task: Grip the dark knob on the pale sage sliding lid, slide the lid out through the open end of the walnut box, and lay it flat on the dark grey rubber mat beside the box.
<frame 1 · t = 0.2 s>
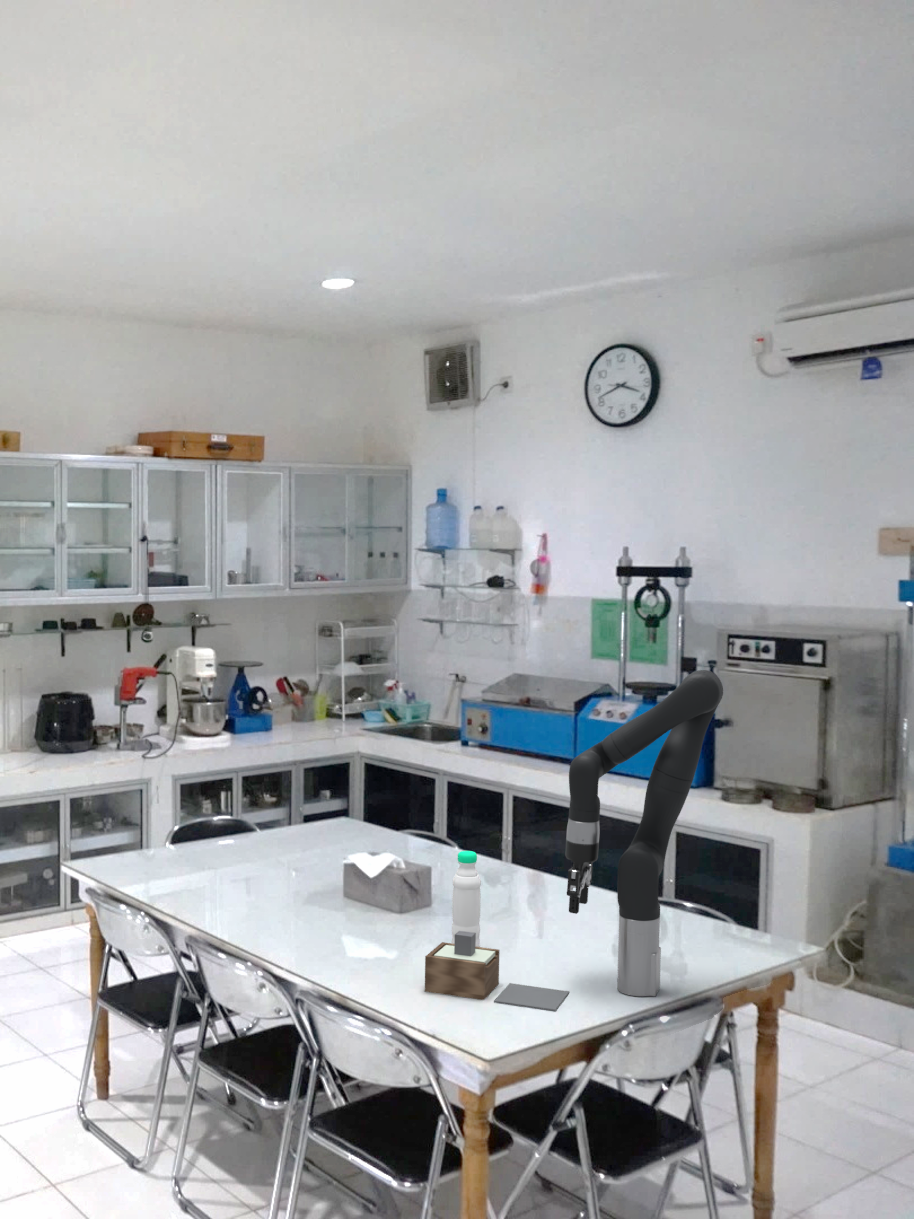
hand: (578, 907, 282), 17 cm above the table, tool pointing down, fingers open, 8 cm apart
water bottle: (465, 952, 303), on the table
lid: (464, 957, 277), point 7 cm above the table, touching box
box: (462, 987, 278), on the table
mat: (531, 997, 272), on the table
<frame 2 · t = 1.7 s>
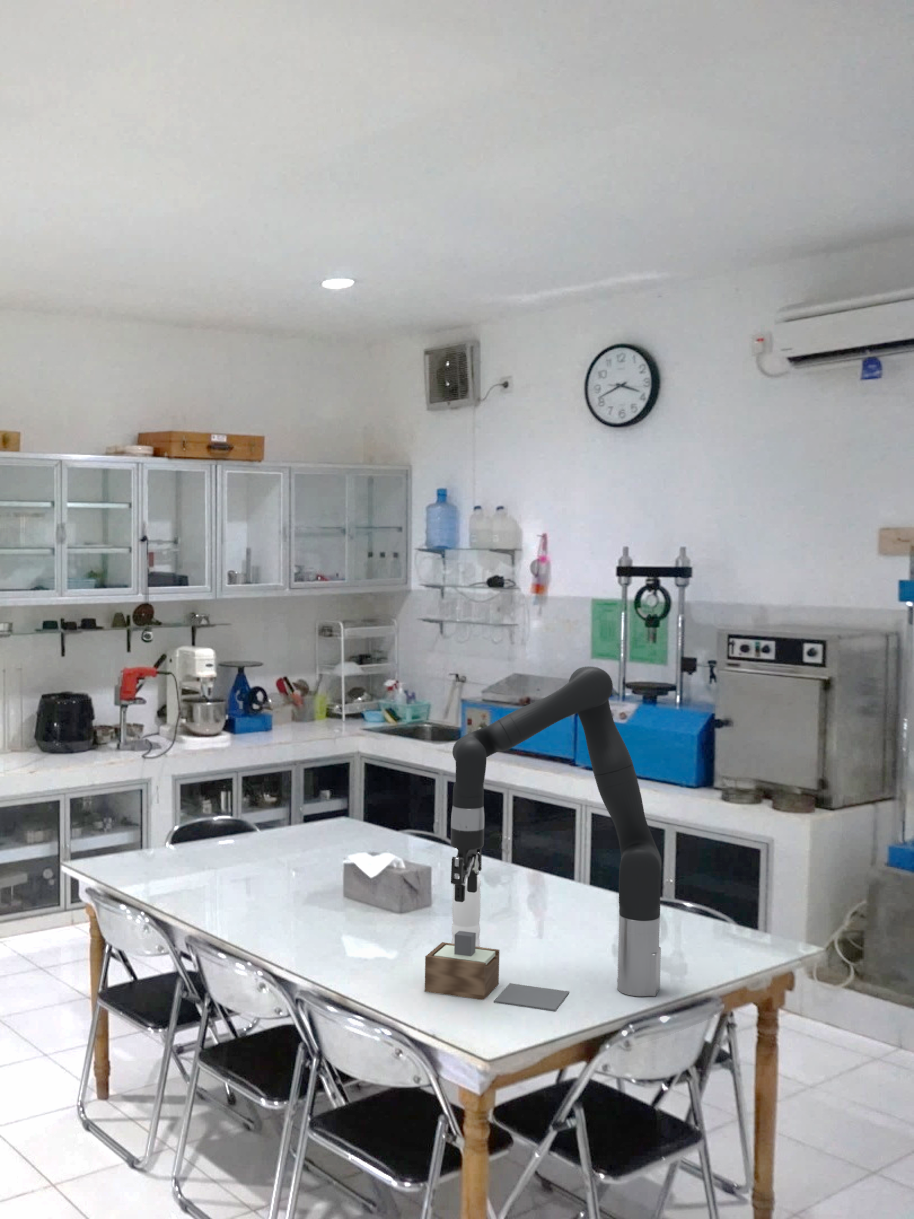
hand: (465, 896, 277), 21 cm above the table, tool pointing down, fingers open, 8 cm apart
nothing on the table moved.
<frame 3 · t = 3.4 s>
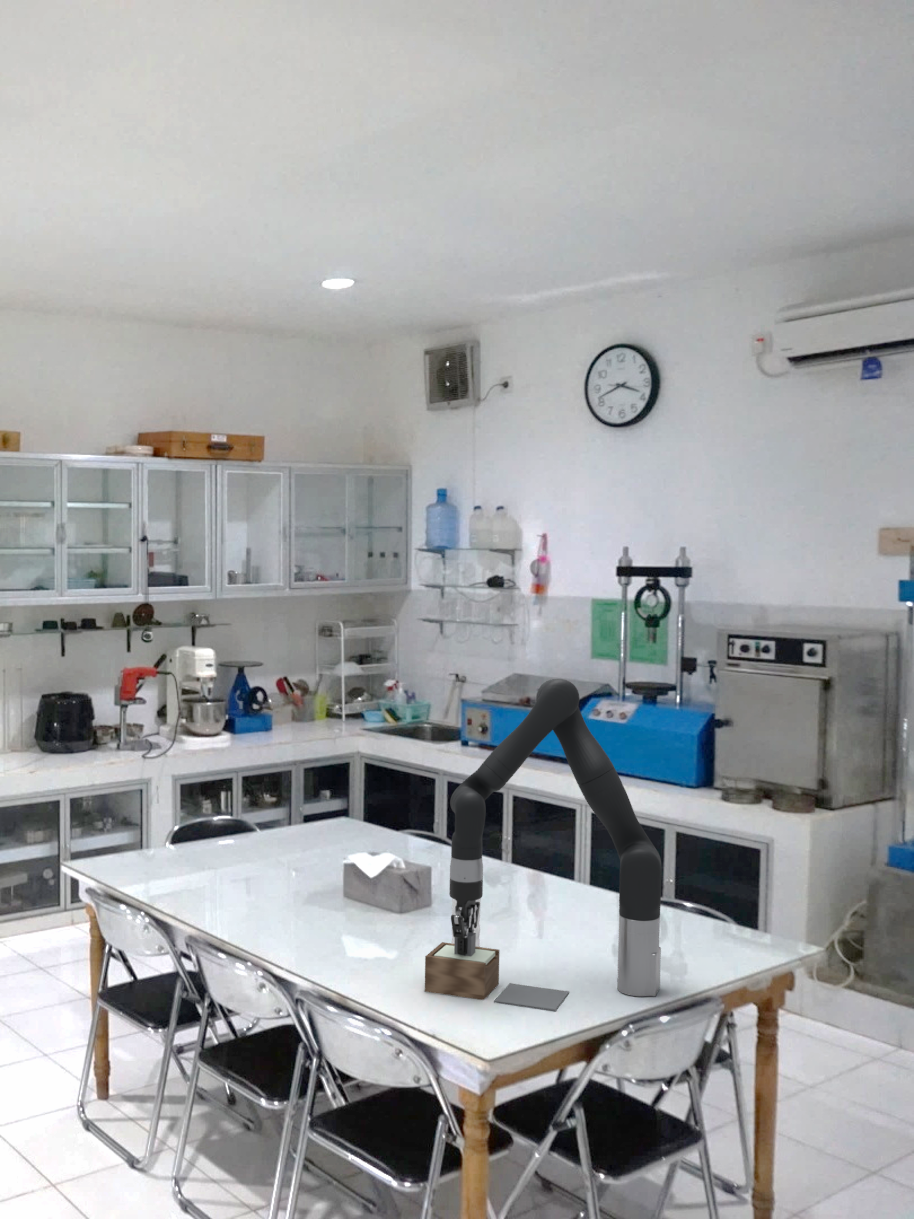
hand: (464, 951, 277), 8 cm above the table, tool pointing down, fingers closed on lid, 3 cm apart
lid: (464, 957, 277), point 7 cm above the table, touching box, gripper
everything else where it was.
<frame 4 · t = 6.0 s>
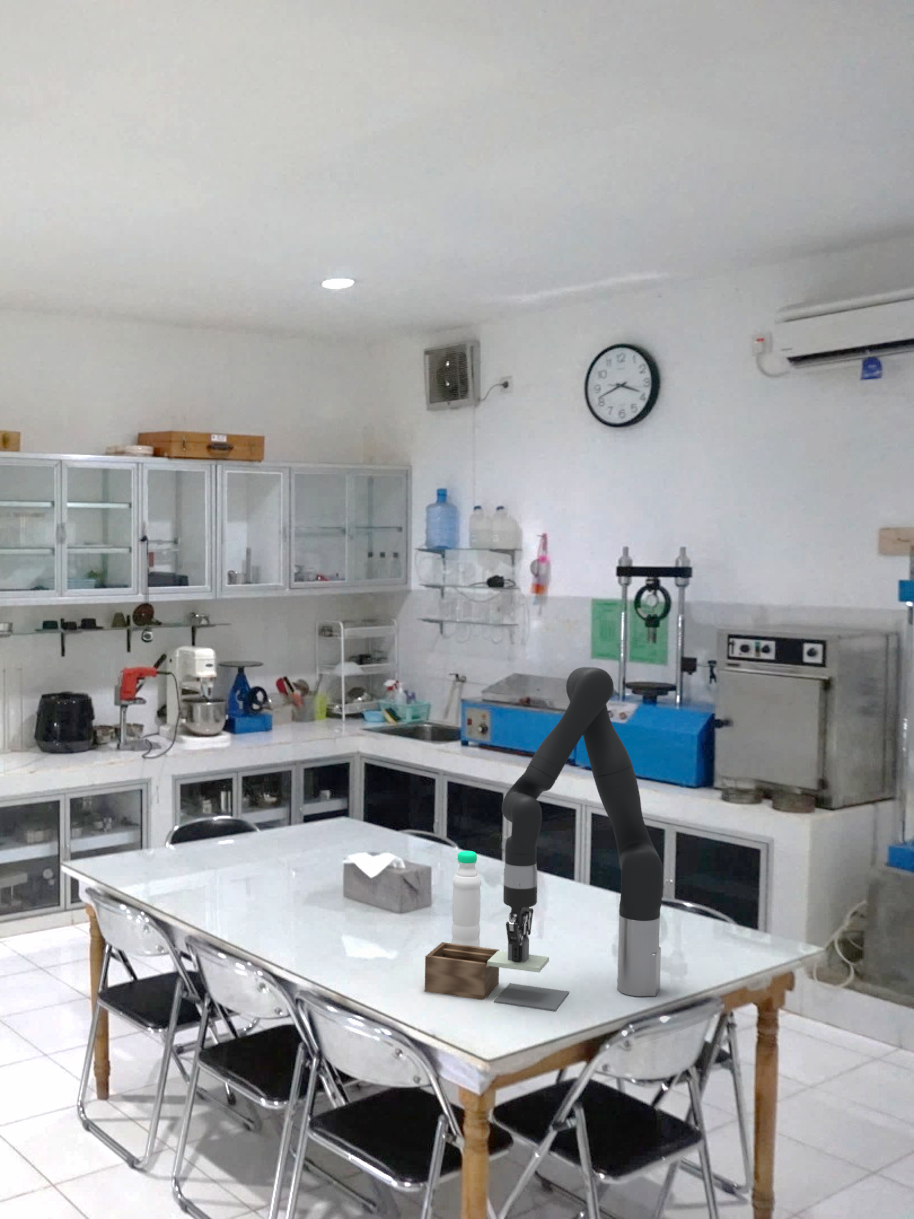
hand: (519, 958, 273), 8 cm above the table, tool pointing down, fingers closed on lid, 3 cm apart
lid: (518, 963, 273), point 7 cm above the table, touching gripper
everything else where it was.
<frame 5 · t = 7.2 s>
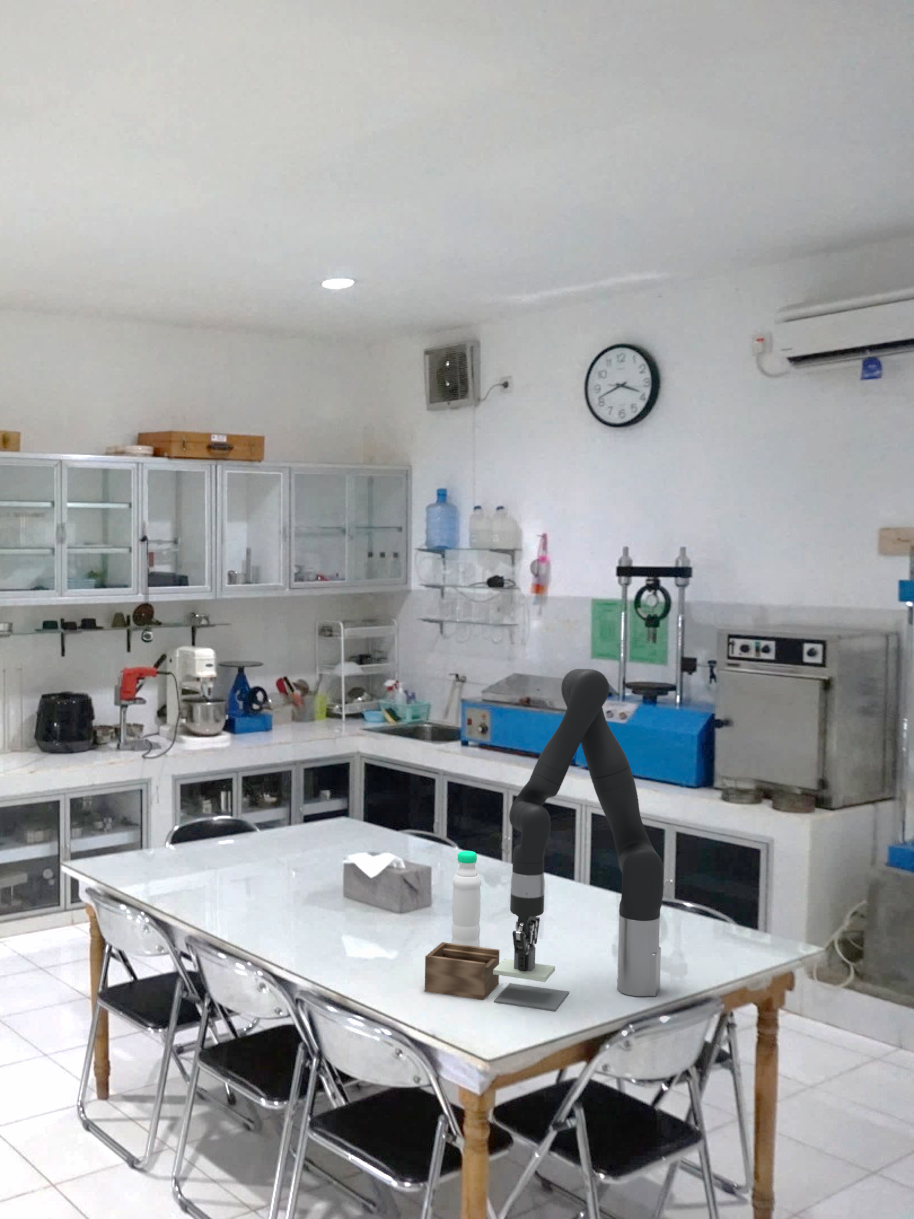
hand: (525, 967, 273), 7 cm above the table, tool pointing down, fingers closed on lid, 3 cm apart
lid: (524, 972, 273), point 5 cm above the table, touching gripper
everything else where it was.
when the fingers open (4 cm above the table, at t = 8.4 s): lid drops 2 cm, resting on mat.
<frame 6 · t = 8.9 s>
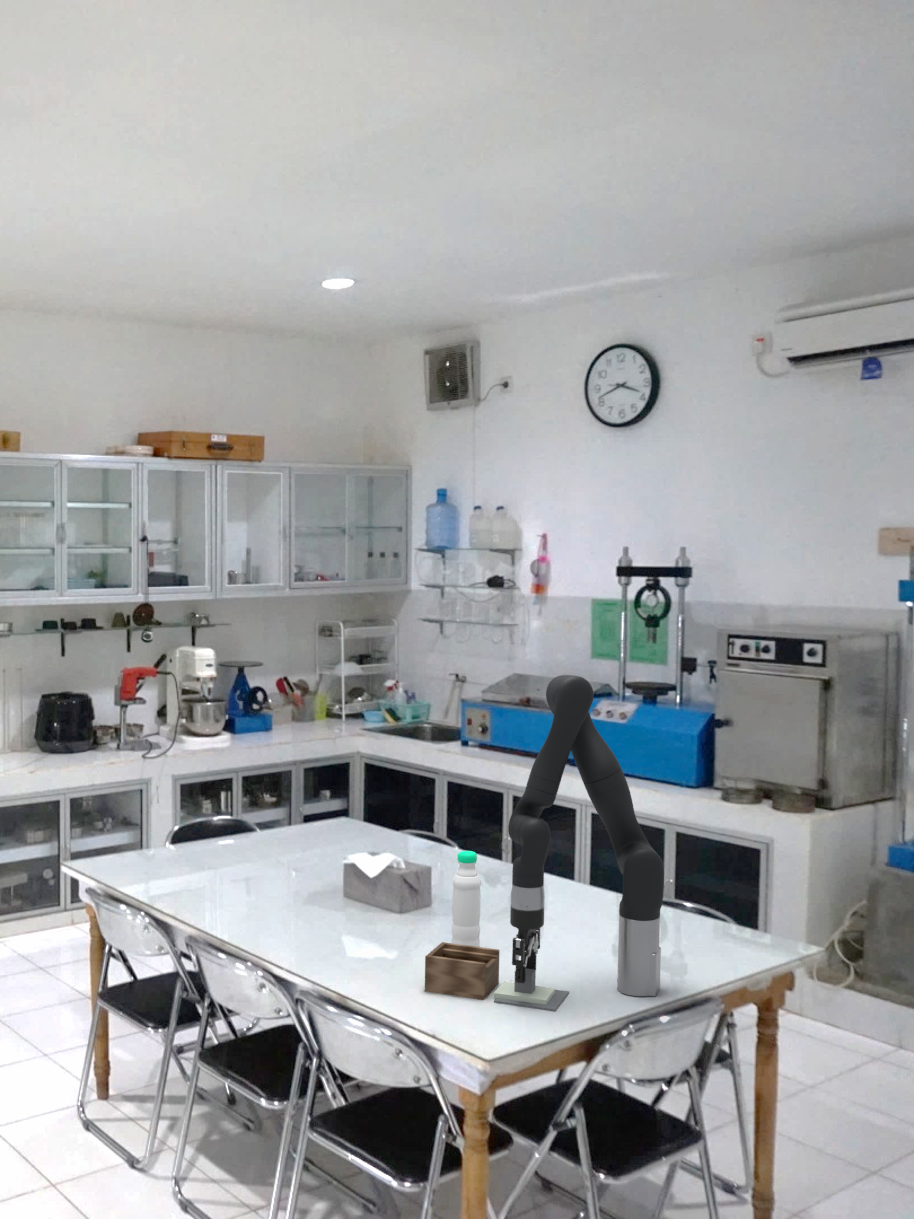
hand: (525, 976, 273), 5 cm above the table, tool pointing down, fingers open, 8 cm apart
lid: (524, 994, 273), resting on mat
everything else where it was.
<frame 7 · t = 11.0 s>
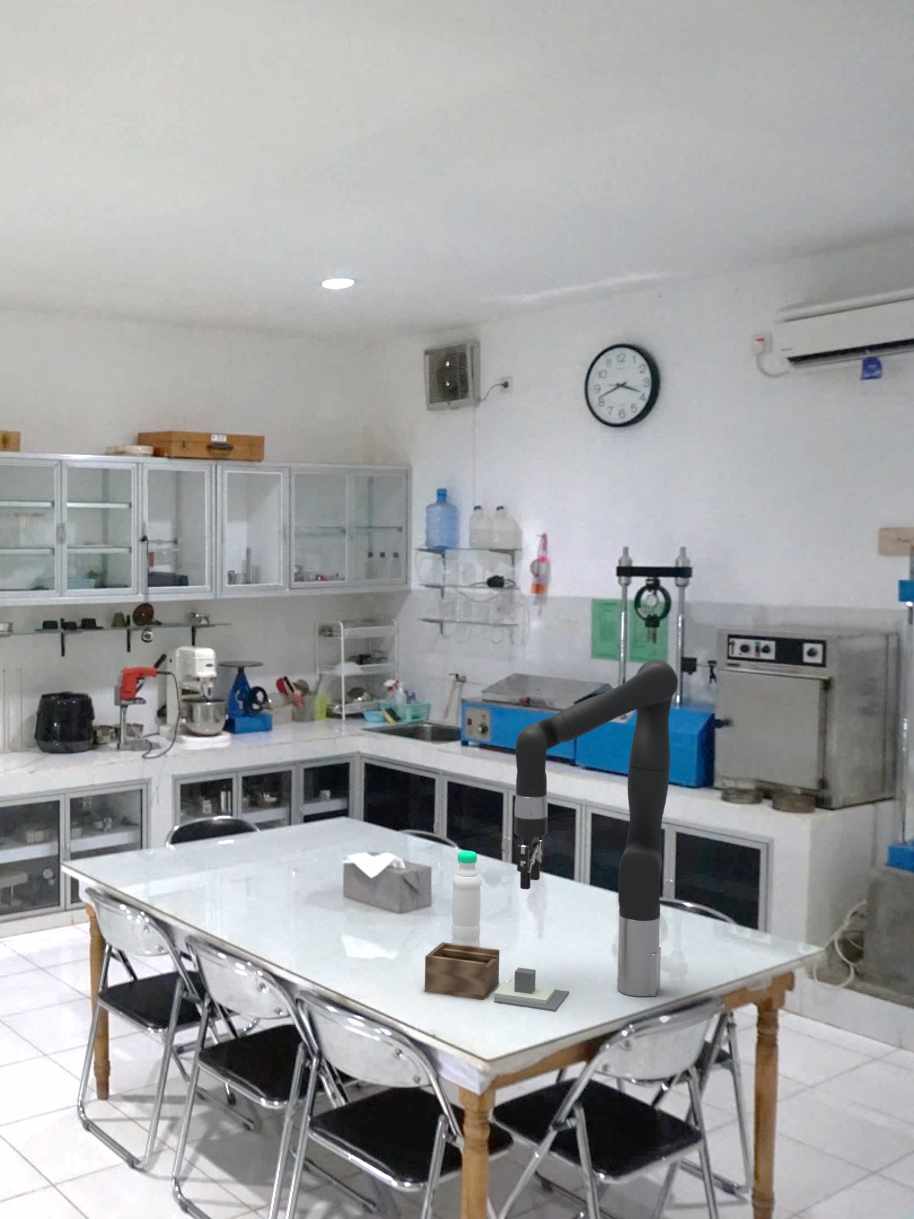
hand: (530, 884, 280), 23 cm above the table, tool pointing down, fingers open, 8 cm apart
nothing on the table moved.
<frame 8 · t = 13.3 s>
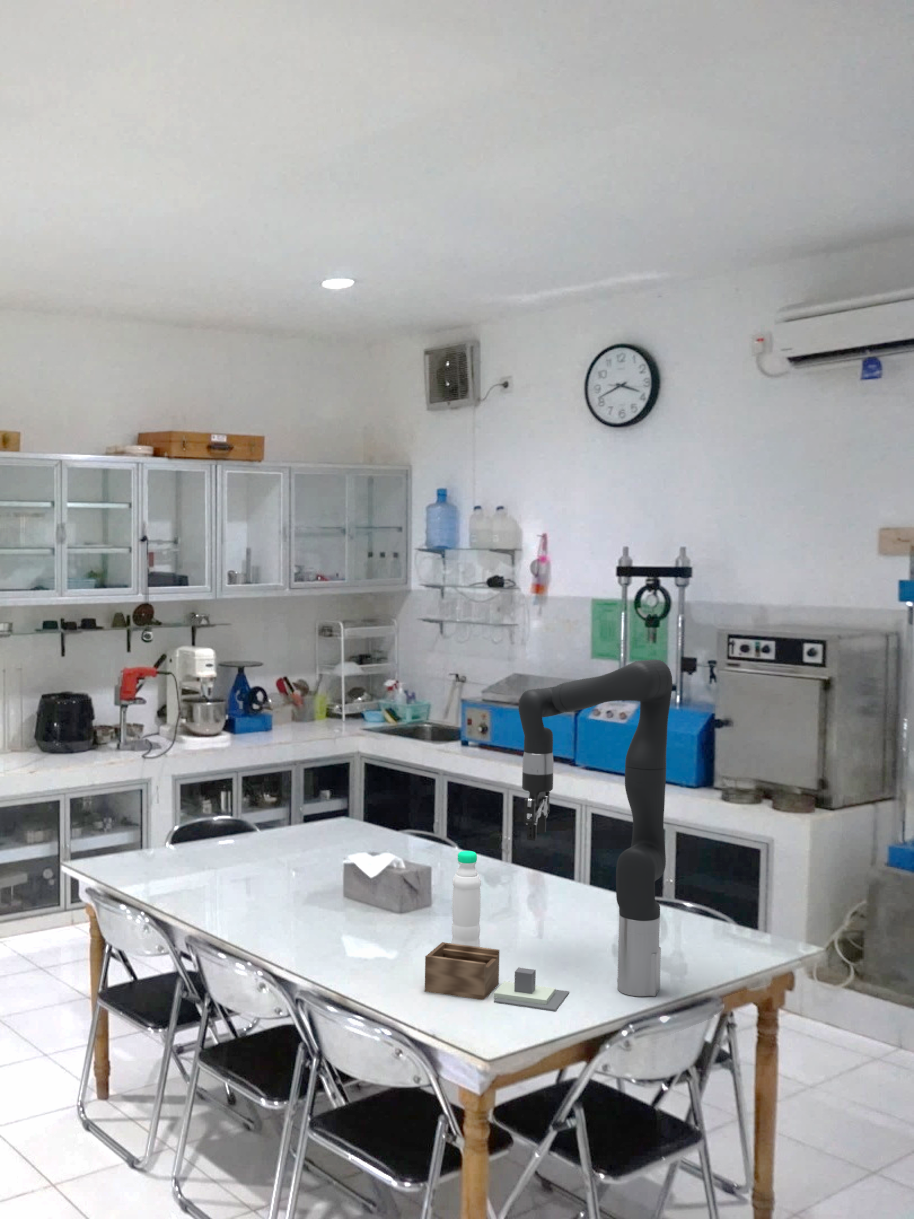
hand: (536, 836, 298), 30 cm above the table, tool pointing down, fingers open, 8 cm apart
nothing on the table moved.
at the end: lid inside the target area (0.2 cm from its centre), resting on mat; lid tilted 0°; the gripper is holding nothing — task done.
